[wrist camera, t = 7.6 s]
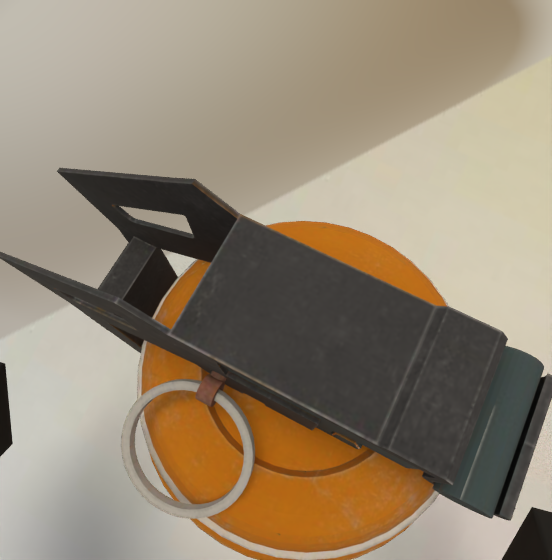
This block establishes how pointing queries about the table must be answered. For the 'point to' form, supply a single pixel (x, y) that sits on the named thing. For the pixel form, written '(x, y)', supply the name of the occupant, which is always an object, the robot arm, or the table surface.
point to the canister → (301, 377)
